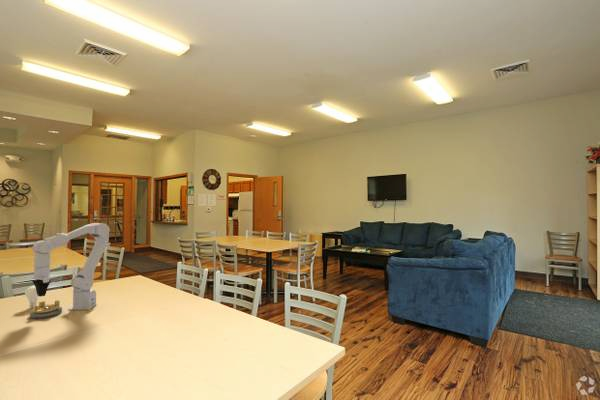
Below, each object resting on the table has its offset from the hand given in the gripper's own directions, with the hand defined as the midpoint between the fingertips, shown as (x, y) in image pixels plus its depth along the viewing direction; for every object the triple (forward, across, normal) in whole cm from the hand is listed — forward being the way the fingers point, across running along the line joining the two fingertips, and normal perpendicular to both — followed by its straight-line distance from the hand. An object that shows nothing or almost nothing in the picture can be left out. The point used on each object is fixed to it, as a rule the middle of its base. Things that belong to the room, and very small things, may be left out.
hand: (41, 295), depth 142 cm
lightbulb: (+11, -20, +2) cm, 23 cm away
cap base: (+10, -3, +3) cm, 11 cm away
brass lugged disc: (+8, -3, +3) cm, 9 cm away
